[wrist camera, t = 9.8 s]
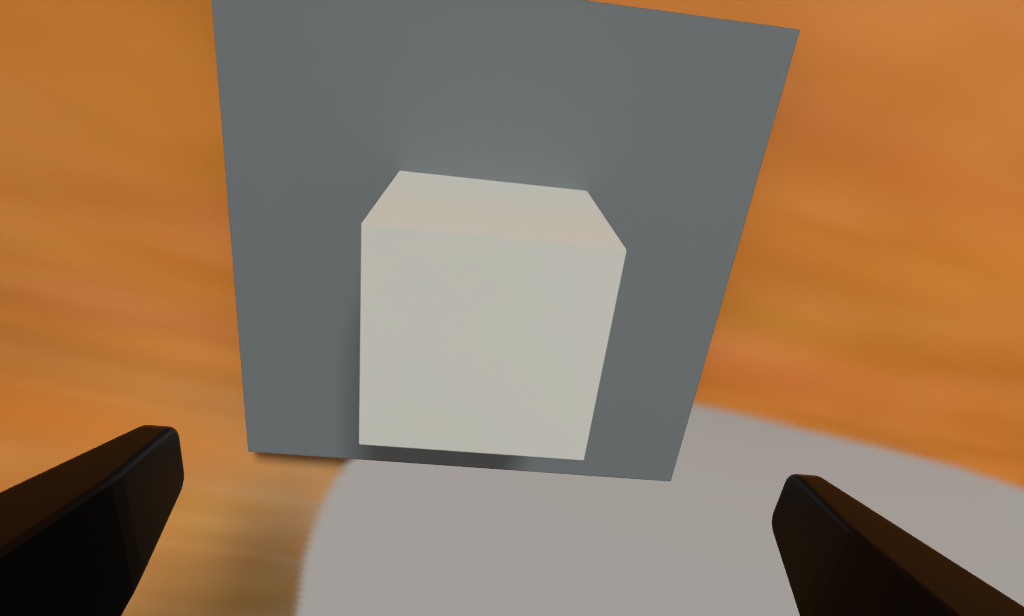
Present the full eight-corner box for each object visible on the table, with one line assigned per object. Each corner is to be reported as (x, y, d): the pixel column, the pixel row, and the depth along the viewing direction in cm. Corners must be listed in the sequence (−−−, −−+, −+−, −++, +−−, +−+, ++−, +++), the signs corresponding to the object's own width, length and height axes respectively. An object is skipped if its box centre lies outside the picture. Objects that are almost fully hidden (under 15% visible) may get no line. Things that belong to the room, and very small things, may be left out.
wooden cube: (393, 339, 17) (358, 444, 13) (399, 170, 15) (361, 223, 11) (559, 353, 18) (583, 460, 13) (587, 190, 16) (626, 249, 11)
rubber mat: (261, 429, 20) (248, 451, 19) (228, -44, 14) (207, -52, 13) (661, 458, 21) (670, 481, 20) (778, 30, 15) (800, 29, 14)
